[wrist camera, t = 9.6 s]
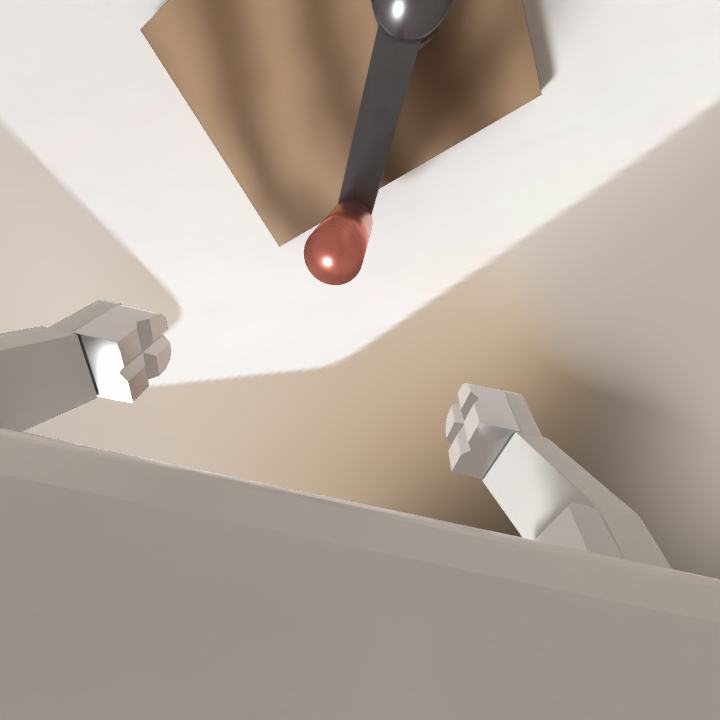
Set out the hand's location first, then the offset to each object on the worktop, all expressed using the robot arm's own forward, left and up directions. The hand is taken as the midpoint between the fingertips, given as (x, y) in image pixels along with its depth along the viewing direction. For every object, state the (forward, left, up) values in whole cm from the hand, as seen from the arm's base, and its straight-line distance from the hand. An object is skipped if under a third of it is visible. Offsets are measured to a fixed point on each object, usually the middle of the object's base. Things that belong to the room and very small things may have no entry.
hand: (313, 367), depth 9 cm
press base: (-3, -9, -23) cm, 25 cm away
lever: (-5, -6, -20) cm, 21 cm away
